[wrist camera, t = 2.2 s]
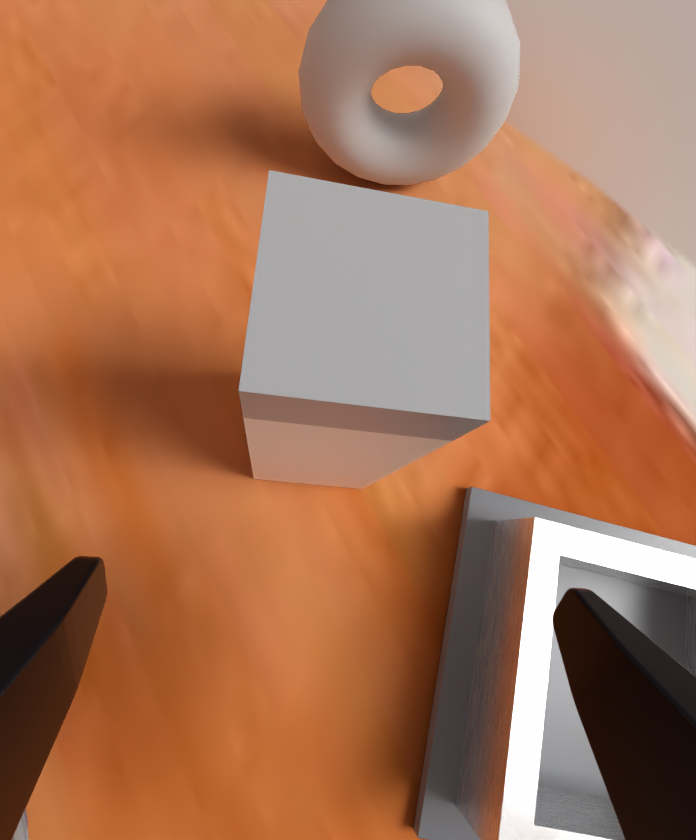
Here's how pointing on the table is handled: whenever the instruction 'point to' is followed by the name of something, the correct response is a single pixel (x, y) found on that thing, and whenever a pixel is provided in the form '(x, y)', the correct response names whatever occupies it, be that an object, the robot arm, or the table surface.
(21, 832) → the ramen bowl
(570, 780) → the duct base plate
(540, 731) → the metal collar
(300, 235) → the gray square block
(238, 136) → the table surface
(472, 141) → the donut
